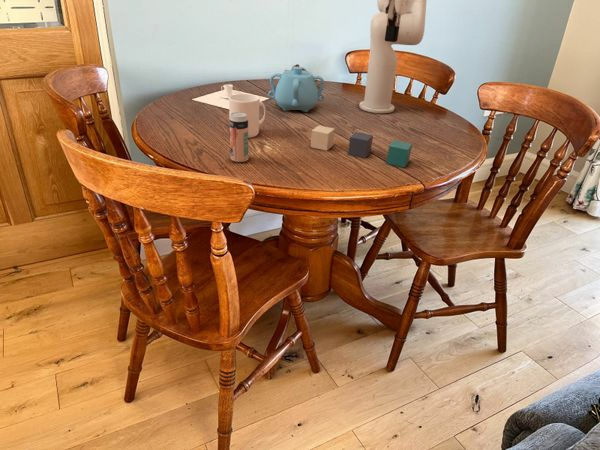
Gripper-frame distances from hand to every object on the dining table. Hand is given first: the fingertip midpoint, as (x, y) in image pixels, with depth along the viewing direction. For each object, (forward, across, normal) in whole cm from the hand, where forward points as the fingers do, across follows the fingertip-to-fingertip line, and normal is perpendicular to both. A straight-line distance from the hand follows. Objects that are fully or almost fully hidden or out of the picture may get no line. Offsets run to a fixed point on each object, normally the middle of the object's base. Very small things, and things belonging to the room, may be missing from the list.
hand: (390, 41), depth 129 cm
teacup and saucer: (+27, +7, +57) cm, 64 cm away
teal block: (+27, -19, -11) cm, 35 cm away
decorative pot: (+27, +11, +33) cm, 44 cm away
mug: (+27, -20, +34) cm, 48 cm away
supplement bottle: (+27, -39, +26) cm, 54 cm away
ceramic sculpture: (+27, +38, +45) cm, 65 cm away
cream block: (+27, -19, +11) cm, 35 cm away
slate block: (+27, -18, 0) cm, 33 cm away
